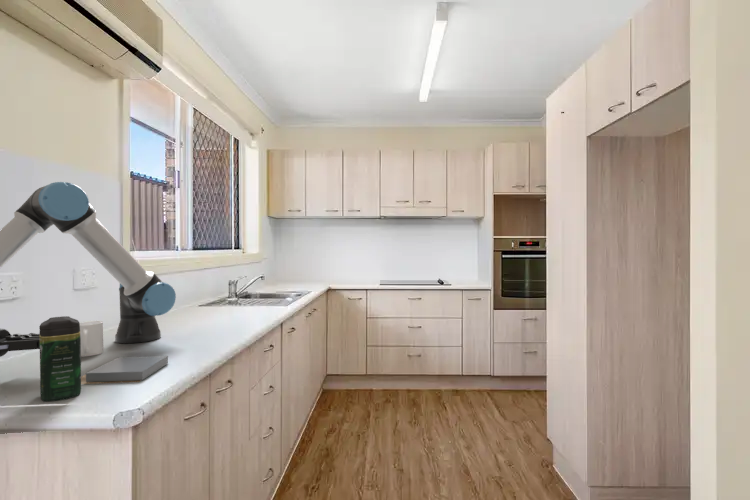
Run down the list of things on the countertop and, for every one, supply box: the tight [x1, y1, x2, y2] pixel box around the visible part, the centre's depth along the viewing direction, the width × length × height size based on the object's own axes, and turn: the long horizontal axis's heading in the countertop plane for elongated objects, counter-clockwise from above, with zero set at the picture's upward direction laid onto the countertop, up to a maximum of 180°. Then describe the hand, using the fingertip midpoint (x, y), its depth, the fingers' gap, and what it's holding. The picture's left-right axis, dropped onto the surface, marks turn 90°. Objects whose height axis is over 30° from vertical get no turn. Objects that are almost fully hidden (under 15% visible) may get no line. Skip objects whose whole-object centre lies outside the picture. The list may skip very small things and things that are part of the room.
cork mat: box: [81, 374, 143, 385], centre depth 122 cm, size 18×18×1 cm
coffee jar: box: [38, 315, 82, 402], centre depth 104 cm, size 10×8×19 cm
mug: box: [79, 320, 104, 357], centre depth 143 cm, size 12×8×10 cm
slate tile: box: [85, 355, 169, 382], centre depth 122 cm, size 16×2×14 cm
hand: (78, 340), depth 121 cm, fingers closed
